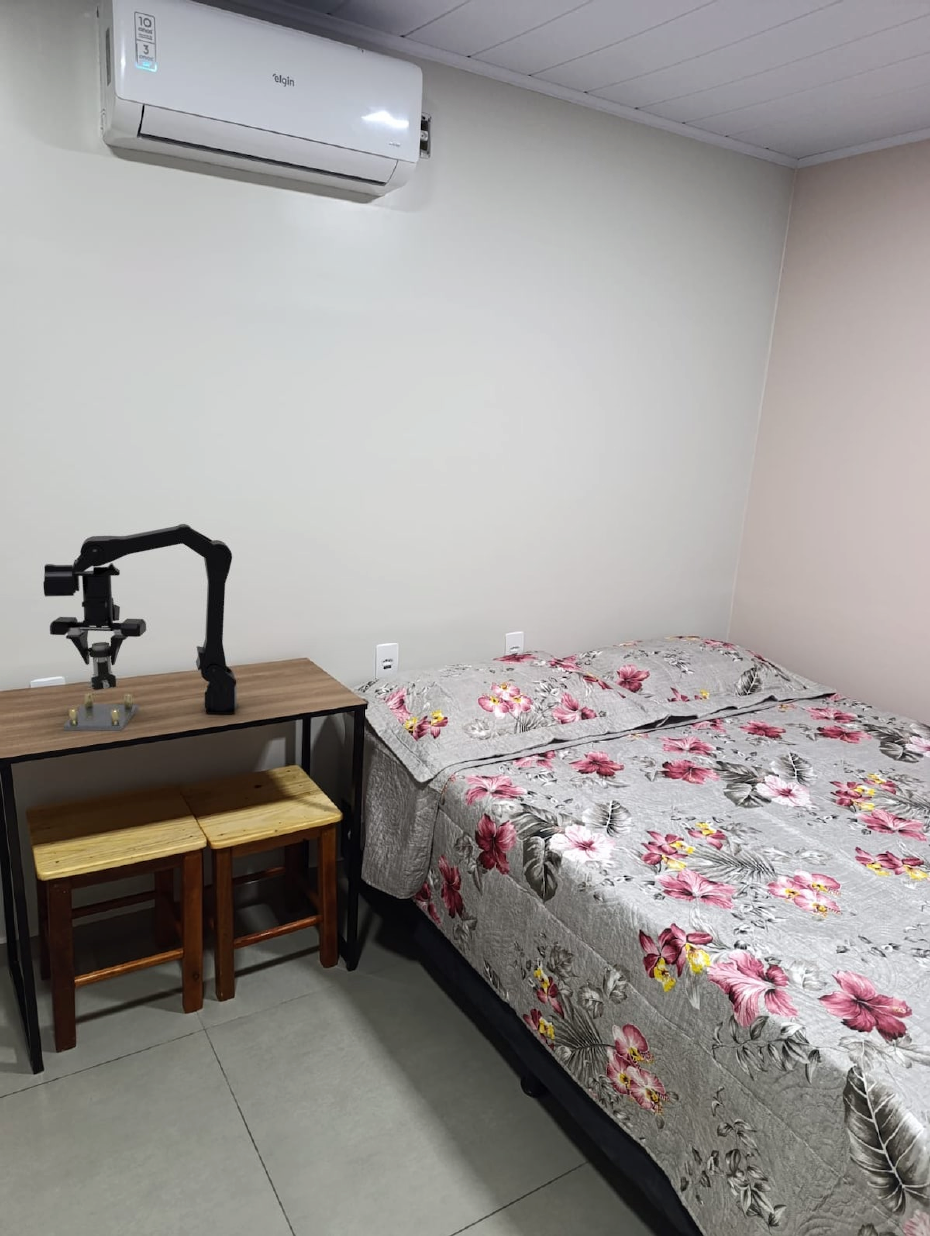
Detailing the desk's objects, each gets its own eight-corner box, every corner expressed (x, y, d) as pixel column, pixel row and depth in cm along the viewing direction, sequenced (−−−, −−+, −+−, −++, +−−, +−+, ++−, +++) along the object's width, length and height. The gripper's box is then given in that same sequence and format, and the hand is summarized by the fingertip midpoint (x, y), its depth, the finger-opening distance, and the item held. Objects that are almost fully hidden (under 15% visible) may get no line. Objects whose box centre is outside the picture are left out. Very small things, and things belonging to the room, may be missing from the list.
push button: (89, 693, 185) (86, 649, 183) (80, 688, 189) (77, 644, 187) (120, 688, 190) (117, 644, 188) (111, 682, 194) (108, 640, 192)
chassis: (137, 709, 198) (137, 692, 197) (121, 730, 184) (120, 712, 183) (83, 708, 196) (82, 691, 196) (63, 730, 183) (62, 712, 182)
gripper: (151, 589, 194) (153, 655, 197) (65, 586, 192) (69, 653, 195) (138, 599, 183) (140, 669, 186) (47, 596, 181) (51, 667, 184)
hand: (100, 664), depth 188 cm, fingers closed on push button, 5 cm apart
